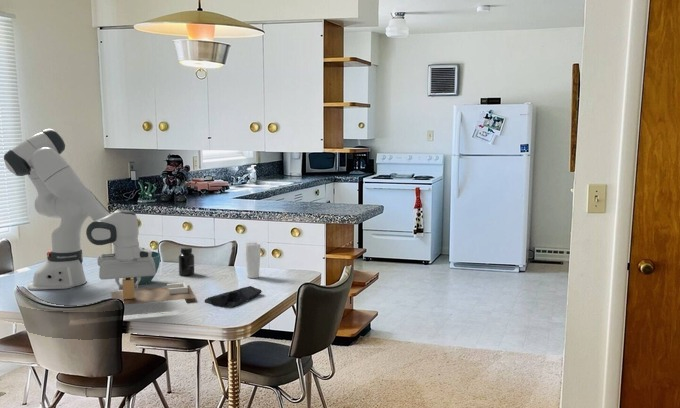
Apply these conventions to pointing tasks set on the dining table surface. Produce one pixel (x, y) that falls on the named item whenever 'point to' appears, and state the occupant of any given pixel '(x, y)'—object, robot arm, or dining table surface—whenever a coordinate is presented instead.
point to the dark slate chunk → (233, 297)
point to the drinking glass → (252, 259)
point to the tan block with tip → (128, 288)
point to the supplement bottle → (186, 262)
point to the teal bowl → (147, 279)
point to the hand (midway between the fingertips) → (128, 288)
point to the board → (154, 295)
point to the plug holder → (177, 288)
